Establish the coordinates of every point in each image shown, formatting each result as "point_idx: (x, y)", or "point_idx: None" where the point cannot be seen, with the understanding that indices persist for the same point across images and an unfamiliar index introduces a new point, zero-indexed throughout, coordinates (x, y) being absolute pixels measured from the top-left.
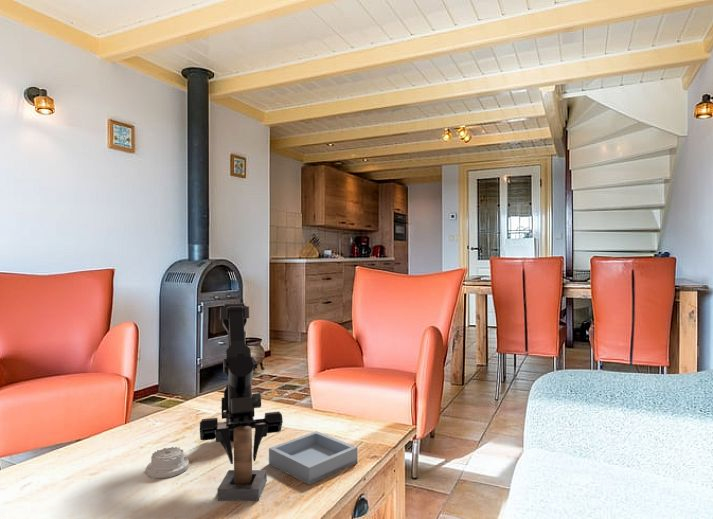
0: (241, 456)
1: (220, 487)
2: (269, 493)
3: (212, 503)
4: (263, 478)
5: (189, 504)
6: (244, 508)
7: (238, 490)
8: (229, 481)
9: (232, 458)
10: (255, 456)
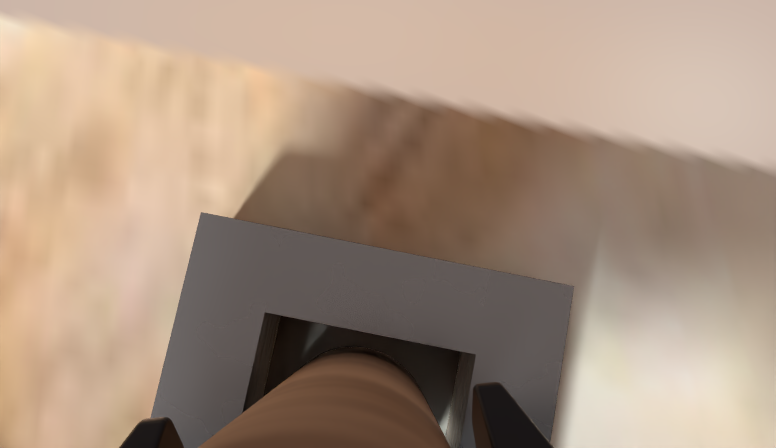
0: (344, 386)
1: (550, 309)
2: (138, 323)
3: (577, 254)
4: None
5: (749, 273)
6: (333, 134)
7: (383, 248)
8: None
9: (488, 416)
10: (126, 443)
